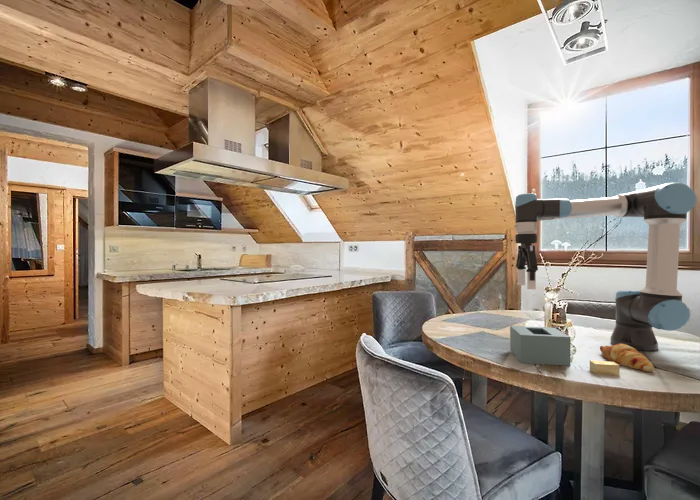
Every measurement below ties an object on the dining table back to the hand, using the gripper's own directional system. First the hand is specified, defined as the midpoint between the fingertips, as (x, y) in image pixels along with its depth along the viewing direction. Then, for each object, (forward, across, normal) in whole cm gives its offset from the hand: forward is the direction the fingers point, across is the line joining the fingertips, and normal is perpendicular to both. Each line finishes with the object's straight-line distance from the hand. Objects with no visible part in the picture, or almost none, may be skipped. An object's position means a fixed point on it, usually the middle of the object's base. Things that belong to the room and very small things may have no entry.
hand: (526, 287), depth 132 cm
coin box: (+26, +7, +2) cm, 27 cm away
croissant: (+26, +7, +30) cm, 40 cm away
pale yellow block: (+26, +19, +18) cm, 37 cm away
